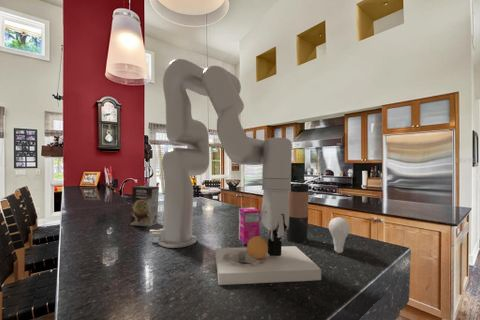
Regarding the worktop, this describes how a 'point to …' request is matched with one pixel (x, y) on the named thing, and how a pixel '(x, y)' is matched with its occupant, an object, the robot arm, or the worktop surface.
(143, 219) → the coffee box
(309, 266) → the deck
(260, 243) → the ball
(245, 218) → the supplement box
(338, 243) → the lightbulb
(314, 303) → the worktop surface
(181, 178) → the robot arm
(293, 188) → the travel mug
